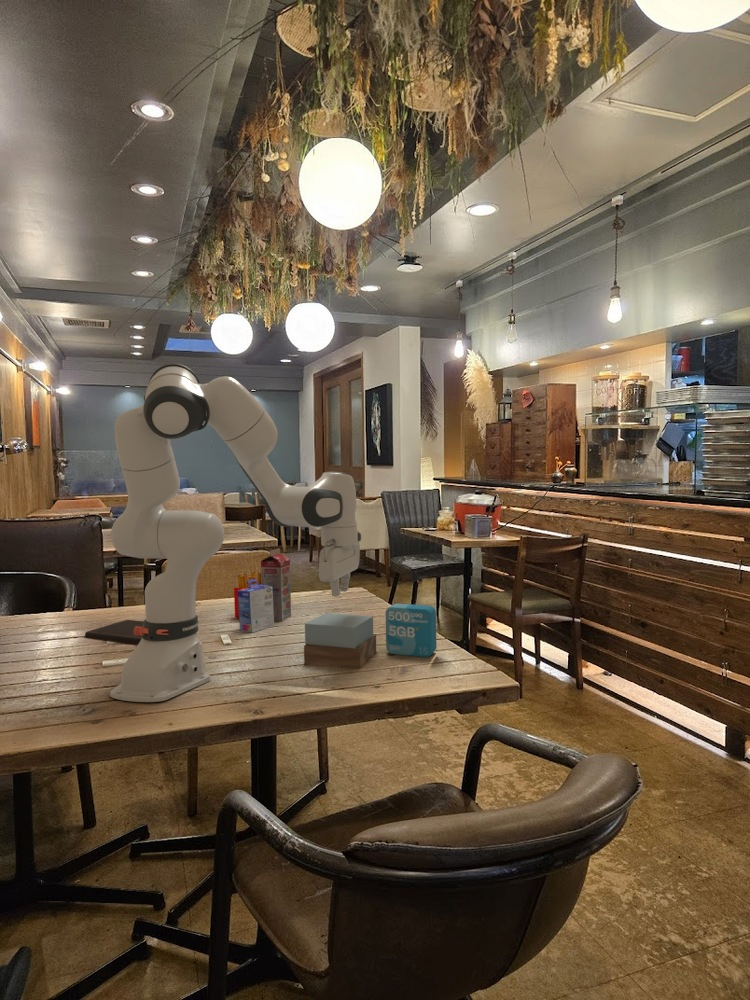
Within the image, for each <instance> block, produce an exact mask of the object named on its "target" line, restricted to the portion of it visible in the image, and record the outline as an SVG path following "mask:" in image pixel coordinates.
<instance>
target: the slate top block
mask: <svg viewBox="0 0 750 1000" xmlns="http://www.w3.org/2000/svg"><path fill="white" fill-rule="evenodd" d="M373 634H374V616H373V615H372V616H371V615H370V616H369V615H360V614H359V615H358V614H346V613H345V614H344V613H332V612H330V613H329V612H325V613H323V614H322V615H321V614H320V616H319V615H318V616H317V617H315V618H313V619H311V620H309V621H307V622H305V623H304V645H306V644H310V645H321V646H331V647H342V648H353V649H355V648H356V647H358V646H359V645H361V644H362V643H364V642H365V641H367V640H368V639H370V638H371V637H373Z"/></svg>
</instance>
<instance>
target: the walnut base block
mask: <svg viewBox="0 0 750 1000" xmlns="http://www.w3.org/2000/svg"><path fill="white" fill-rule="evenodd" d="M376 653H377V634H376V633H373V637H371V638H370V639H368V640H367V641H365V642H364V643H362V644H361V645H359V646H358V647H356V648H355V649H353V648H342V647H331V646H321V645H310V644H304V645H303V662H304V665H305V666H306V665H307V666H321V667H336V668H348V669H349V668H350V669H361V668H362V667H363V666H364V665H365V664H366V663H367V662H368V661H369V660H370V659H371V658H372V657H373V656H374V655H375V654H376Z"/></svg>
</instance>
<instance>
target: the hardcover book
mask: <svg viewBox="0 0 750 1000" xmlns="http://www.w3.org/2000/svg"><path fill="white" fill-rule="evenodd" d="M143 624H144V620H143V621H142V620H141V621H140V620H135V619H134V620H133V619H125V620H122V621H118V622H114V623H112V624H108V625H105V626H100V627H98V628H95V629H91V630H87V631H85V633H84V638H85V637H86V638H87V639H92V640H99V641H100V640H101V641H106V642H114V643H122V644H127V645H133V646H134V645H136V646H137V645H138V644H139V642H140V641H141V639H142V638H141V635H135V634H134V633H135V632H133V631H134V629H135V627H136V626H139V627H143Z"/></svg>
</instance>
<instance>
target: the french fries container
mask: <svg viewBox="0 0 750 1000" xmlns="http://www.w3.org/2000/svg"><path fill="white" fill-rule="evenodd" d="M256 575H257V576H256ZM252 579H256V581H257V582H258V585H262V584H261V572H257V574H256V571H253V572H251V575H250V576H248V574H247V573H243V574H238V575H237V581H238V587H233V595H234V596H233V597H234V599H233V600H234V617H235V618H236V619H237V620H239V606H238V590H242V589H246V588H249V585H248V582H247V580H252ZM250 584H251V585H252V584H256V582H251V583H250Z"/></svg>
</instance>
